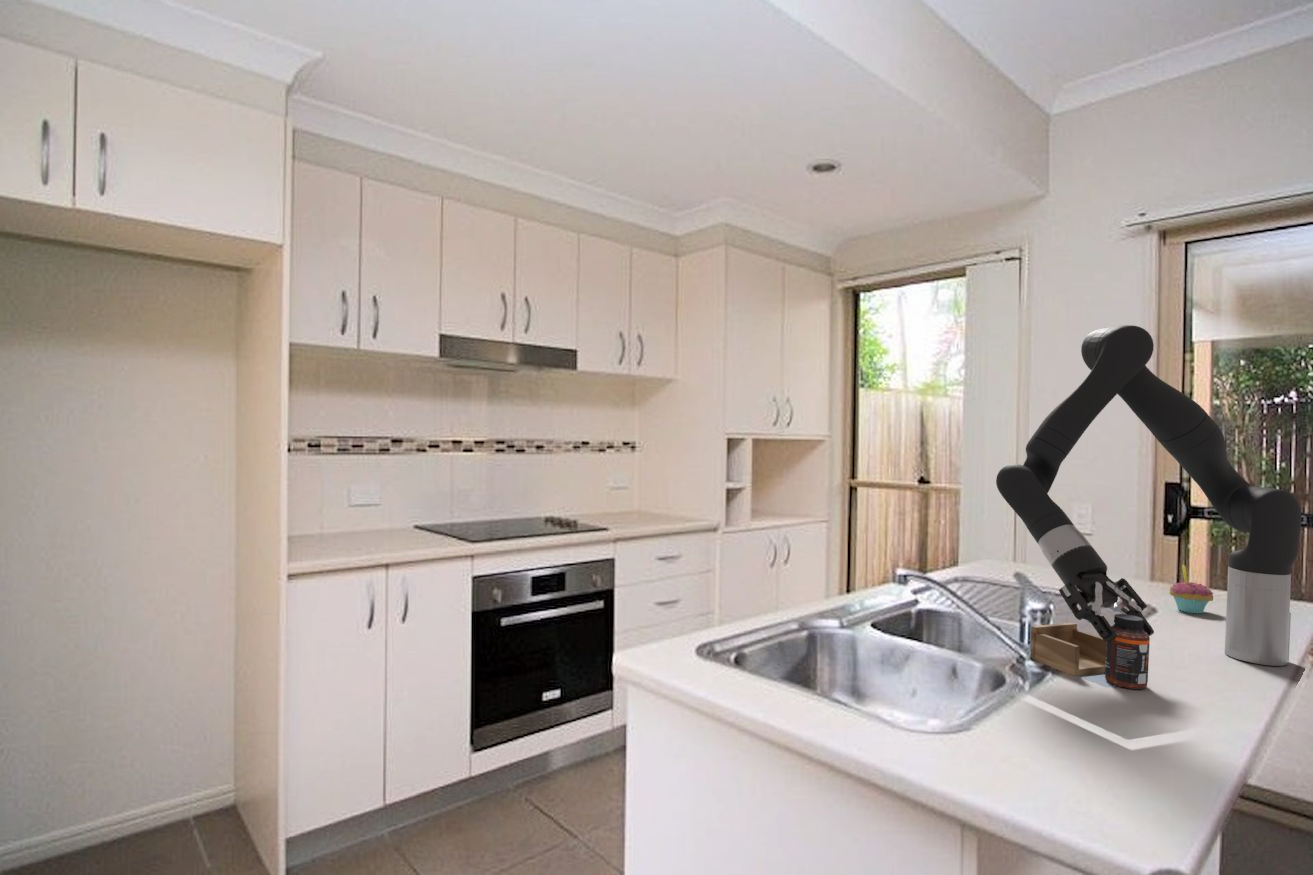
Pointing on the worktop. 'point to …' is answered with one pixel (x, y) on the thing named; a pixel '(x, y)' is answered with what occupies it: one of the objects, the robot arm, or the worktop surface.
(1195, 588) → the cupcake
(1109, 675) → the supplement bottle
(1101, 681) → the plate
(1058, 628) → the tray
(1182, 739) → the worktop surface
